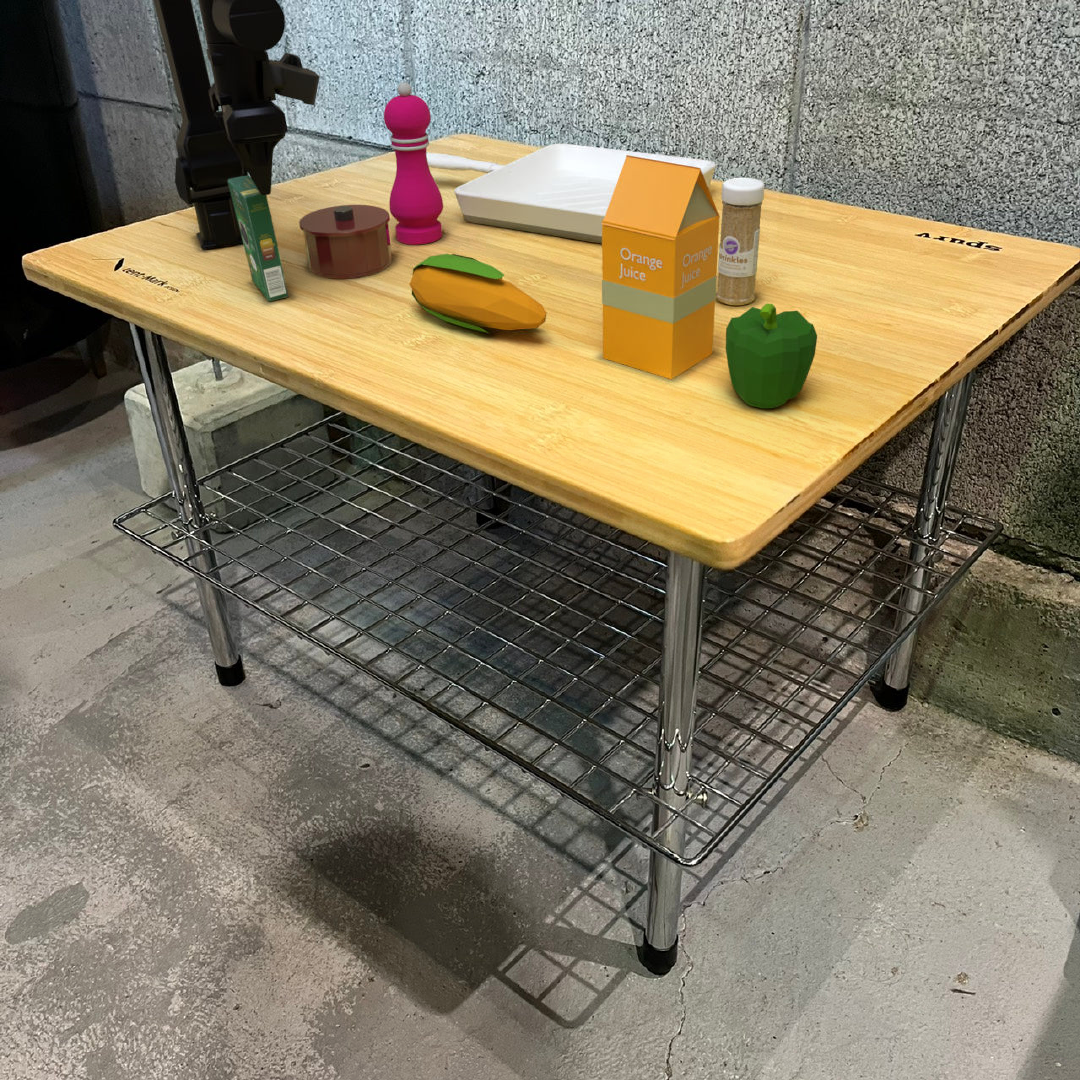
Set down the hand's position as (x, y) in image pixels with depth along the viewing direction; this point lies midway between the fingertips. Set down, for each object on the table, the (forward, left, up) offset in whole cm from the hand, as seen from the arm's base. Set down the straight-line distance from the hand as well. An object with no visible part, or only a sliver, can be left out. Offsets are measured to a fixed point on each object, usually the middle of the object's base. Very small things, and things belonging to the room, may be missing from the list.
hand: (260, 184), depth 127 cm
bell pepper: (+51, +38, -13) cm, 65 cm away
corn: (+22, +19, -13) cm, 32 cm away
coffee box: (-1, -1, -13) cm, 13 cm away
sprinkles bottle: (+28, +48, -13) cm, 57 cm away
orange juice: (+38, +33, -13) cm, 52 cm away
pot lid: (-5, +10, -8) cm, 14 cm away
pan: (-19, +42, -13) cm, 48 cm away
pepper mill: (-11, +21, -13) cm, 27 cm away
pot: (-5, +10, -13) cm, 17 cm away
